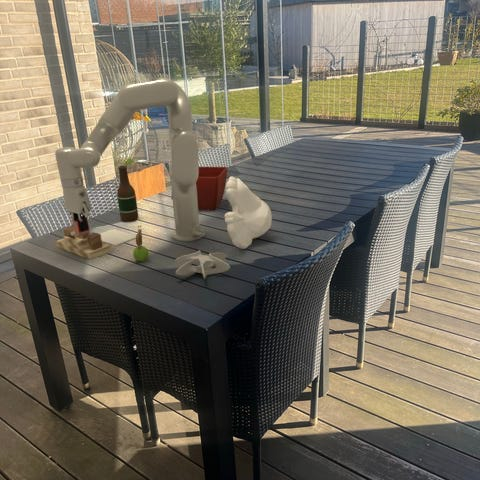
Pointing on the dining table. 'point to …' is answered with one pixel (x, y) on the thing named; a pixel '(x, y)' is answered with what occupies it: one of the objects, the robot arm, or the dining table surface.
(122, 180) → the beer bottle
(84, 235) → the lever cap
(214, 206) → the plant pot
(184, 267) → the sculpture
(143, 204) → the dining table surface
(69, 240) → the body
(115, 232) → the mat
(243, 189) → the white bear figurine
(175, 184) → the robot arm
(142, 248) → the snail figurine
